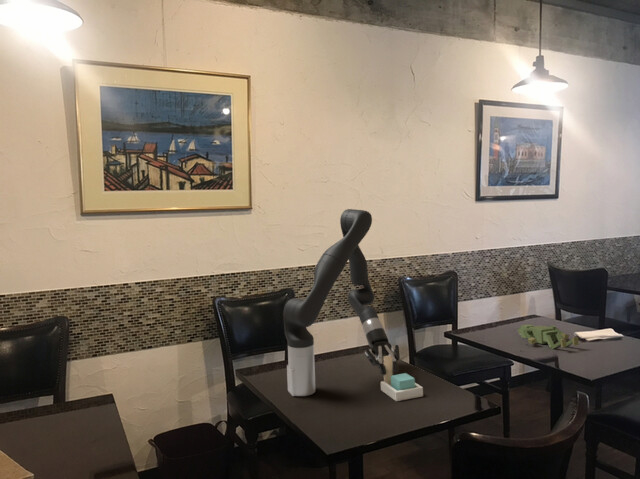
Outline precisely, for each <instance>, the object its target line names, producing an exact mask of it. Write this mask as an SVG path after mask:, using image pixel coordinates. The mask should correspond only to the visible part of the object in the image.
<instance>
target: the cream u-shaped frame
mask: <svg viewBox="0 0 640 479" xmlns="http://www.w3.org/2000/svg"><path fill="white" fill-rule="evenodd" d="M380 391H381V392H383V393H385V395H387V396H388V397H389V398H391V399H393V401H395V402H400V401H406V400H410V399H416V398H420V397H424V387H423V386H421V385H420V384H418V383H416V382H415V388H409V389H404V390H399V391H397V390H396V389H394V388H393V387H391V386H390V385H388V384H387V383H386V382H384V380H383V381H380Z"/></svg>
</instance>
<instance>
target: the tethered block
mask: <svg viewBox="0 0 640 479" xmlns="http://www.w3.org/2000/svg"><path fill="white" fill-rule="evenodd" d="M382 360H383V365H384V367H385V370H386V375H384V376H383V381H384V382H386V383H387V384H388V385H390V386H391V387H393V388H394V389H396V390H397V391H399V390H404V389H409V388H415V383H416V379H415V377H413V376H411V374H410V375H409V374H408V373H407V372H404V373H399V374H394V371H393V366H392V356H384V357H382Z"/></svg>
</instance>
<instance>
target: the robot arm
mask: <svg viewBox="0 0 640 479" xmlns="http://www.w3.org/2000/svg"><path fill="white" fill-rule="evenodd" d="M339 218H340V220H339V221H340V222H339V223H340V229H341V234H342V238H341V239H340V240H338V241H337V242H335V243H334V244H332V245H330V246H329V247H328V248H327V249H326V250H325V251H324V252H323V253H322V255H321V256H320V258H319V260H318V261H317V263H316V265H315V268H314V277H313V285H312V288H311V290H310V292H309V293H308V295H307V296H306V297H305V299H300V298H297V297H296V298H294V297H293V298H290V299H288V301H286V303H285V305H284V308H283V327H284V335H285V338H286V340H287V359H288V360H287V361H288V364H286V377H287V378H286V379H287V391H288V393H289V394H290V395H291V396H292V397H307V396H310V395H313V394H314V393H315V392H316V373H315V372H316V371H315V368H316V366H315V342H314V336H313V334H311V332H310V331H309V330H308V329H307V328H308V327H310V326H313V324H314V323H315V322H316V320H317V318H318V316H319V314H320V313H321V310H322V308H323V306H324V304H325V301H326V299H327V297H328V295H329V293H331V292H330V291H331V290H332V288H333V286H334V285H335V283H336V282H337V280H338V278H339V277H340V275H341V274H342V271H343V270H344V268H345V267H346V266H347V263H348V264H349V273H350V274H349V277H350V282H351V284H352V285H355V286H362V288H356V289H351V290H350V291H349V292H348V294H347V301H348V304H349V305H350V307H351V308H352V310H354V312H355V313H356V315H357V316H358V319H359V320H360V323H361V326H362V330H363V333H364V336H365V338H366V341H367V344H368V346H369V349H368V348H367V349H366V350H365V352H364V353H363V354H364V355H365V357H366V358H367V360H368V361H369V362H370V364H371V365H372V366H373V367H375V366H377V368H378V370H379V372H380V374H381V375H382V377H384V375H386V370H385V367H384V363H383V357H384V356H392V366H393V374H394V375H397V373H398V372H399V371H400V370H399V366H398V361H399V360H400V347H399V345H398V344H396V345H392V344H391V342H389V338H388V336H387V333H386V330H385V328H384V326H383V324H382V323H383V322H382V321H381V320H380V318H379V316H378V313H377V310H376V308H375V307H373V306H369V305H373V303H374V301H375V294H374V291H373V289H372V288H373V287H372V286H371V283H370V279H369V270H368V263H367V259H366V257H365V255H364V253H363V252H362V249H361V248H360V246H359V245H360V243H361V242H362V240H363V239H364V238H365V237H366V235H367V234H368V232H369V230H370V229H371V226H372V222H373V216H372V214H371V213H370V211H367V210H363V209H354V208H353V209H352V208H347V209H345V210H343V212H342V213H341V215H340V217H339Z"/></svg>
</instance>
